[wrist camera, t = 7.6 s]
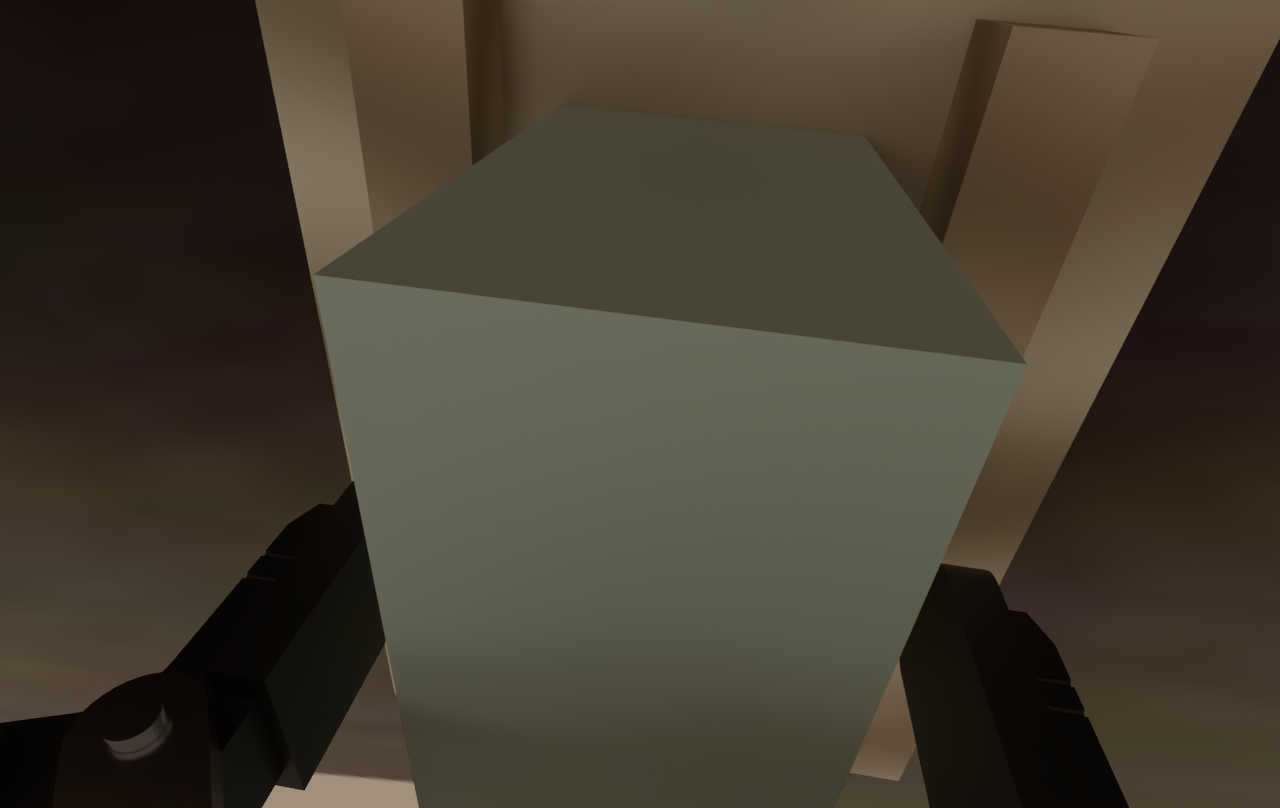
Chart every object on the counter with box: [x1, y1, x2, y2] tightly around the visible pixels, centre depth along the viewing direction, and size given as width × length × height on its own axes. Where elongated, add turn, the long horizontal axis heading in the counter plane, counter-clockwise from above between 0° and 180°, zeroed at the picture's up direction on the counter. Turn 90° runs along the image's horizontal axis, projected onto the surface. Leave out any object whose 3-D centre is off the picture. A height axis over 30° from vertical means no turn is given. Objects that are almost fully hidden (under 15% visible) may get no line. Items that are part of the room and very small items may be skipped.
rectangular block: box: [313, 104, 1028, 808], centre depth 10 cm, size 12×6×7 cm, turn 176°
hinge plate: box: [255, 0, 1280, 781], centre depth 12 cm, size 20×14×6 cm
